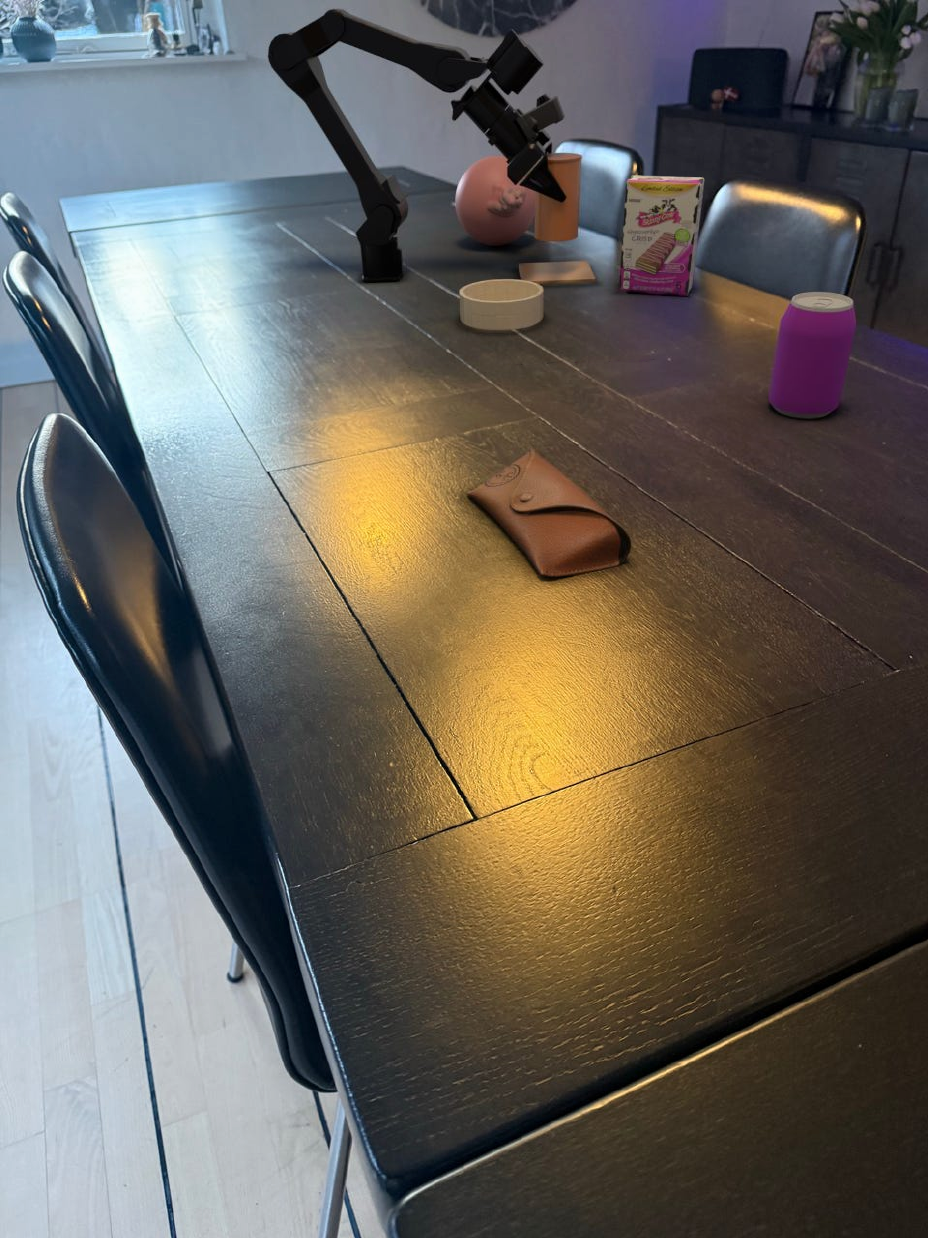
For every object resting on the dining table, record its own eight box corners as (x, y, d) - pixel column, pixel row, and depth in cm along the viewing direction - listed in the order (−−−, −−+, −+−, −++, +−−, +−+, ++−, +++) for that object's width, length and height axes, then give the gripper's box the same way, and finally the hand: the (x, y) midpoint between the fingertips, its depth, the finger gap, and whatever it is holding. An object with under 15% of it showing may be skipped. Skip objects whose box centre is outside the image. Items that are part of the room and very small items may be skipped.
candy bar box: (617, 293, 143) (624, 180, 133) (623, 285, 146) (630, 174, 137) (689, 297, 139) (701, 181, 130) (693, 288, 143) (705, 175, 134)
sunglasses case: (459, 490, 87) (490, 428, 85) (515, 510, 91) (546, 451, 88) (543, 580, 73) (583, 509, 71) (605, 599, 77) (645, 532, 75)
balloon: (468, 262, 162) (465, 169, 154) (451, 239, 179) (447, 153, 170) (550, 256, 164) (552, 163, 155) (526, 233, 180) (526, 148, 172)
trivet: (522, 287, 148) (522, 281, 147) (518, 269, 157) (519, 263, 157) (595, 284, 147) (595, 278, 147) (587, 266, 157) (587, 260, 157)
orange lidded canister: (559, 243, 144) (562, 161, 138) (524, 237, 149) (525, 157, 142) (587, 235, 149) (591, 154, 142) (552, 229, 153) (554, 151, 146)
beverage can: (828, 425, 97) (851, 314, 91) (758, 413, 101) (775, 305, 94) (845, 402, 103) (868, 294, 96) (778, 391, 106) (795, 286, 99)
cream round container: (460, 335, 128) (459, 303, 125) (460, 310, 138) (459, 280, 135) (545, 332, 128) (546, 300, 125) (540, 307, 138) (540, 277, 135)
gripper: (529, 81, 128) (602, 165, 133) (538, 71, 144) (603, 147, 148) (476, 143, 134) (548, 222, 139) (490, 127, 149) (554, 199, 154)
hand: (565, 195), depth 145 cm, fingers closed on orange lidded canister, 7 cm apart
